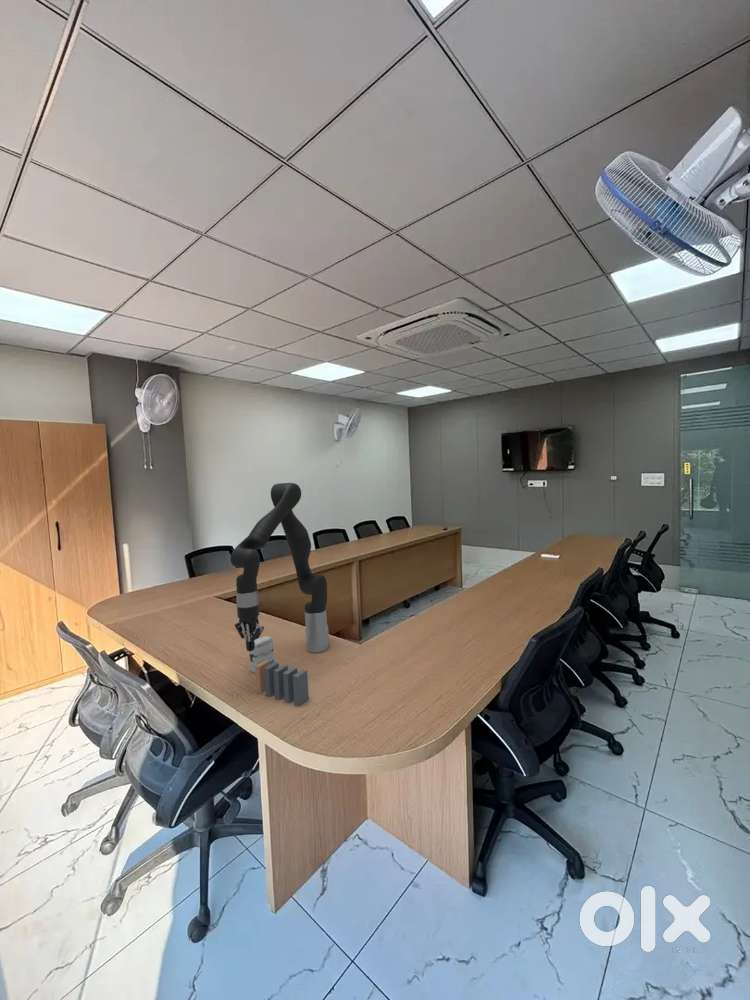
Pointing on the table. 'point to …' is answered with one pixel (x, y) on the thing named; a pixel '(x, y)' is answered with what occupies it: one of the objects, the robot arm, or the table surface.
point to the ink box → (261, 652)
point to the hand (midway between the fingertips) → (250, 650)
